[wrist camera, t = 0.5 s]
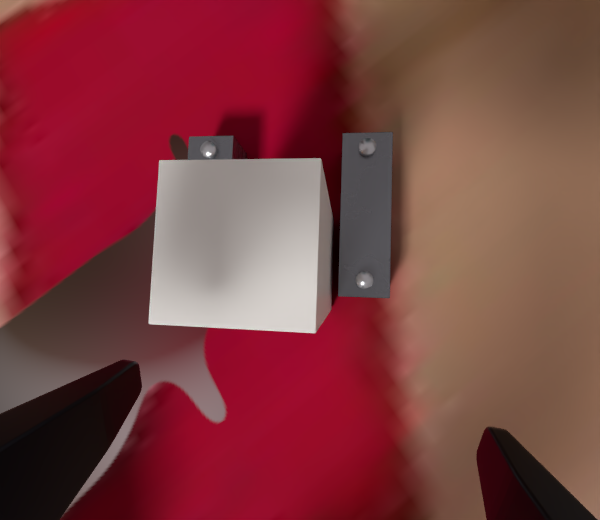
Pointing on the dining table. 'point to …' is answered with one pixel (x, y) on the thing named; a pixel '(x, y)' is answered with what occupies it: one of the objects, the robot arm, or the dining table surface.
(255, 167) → the plug
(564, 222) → the dining table surface
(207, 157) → the housing
